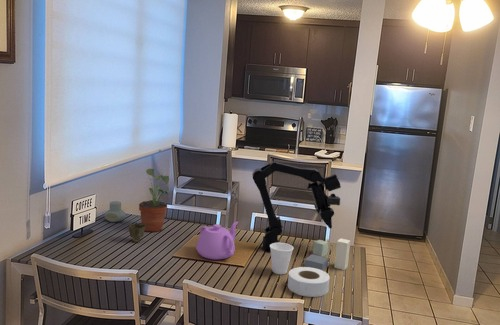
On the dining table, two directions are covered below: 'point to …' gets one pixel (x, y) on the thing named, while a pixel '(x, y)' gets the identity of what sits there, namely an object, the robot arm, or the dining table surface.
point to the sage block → (320, 248)
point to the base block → (316, 262)
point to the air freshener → (115, 212)
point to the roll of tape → (308, 281)
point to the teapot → (216, 242)
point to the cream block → (342, 254)
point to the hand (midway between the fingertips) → (328, 225)
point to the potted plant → (154, 207)
